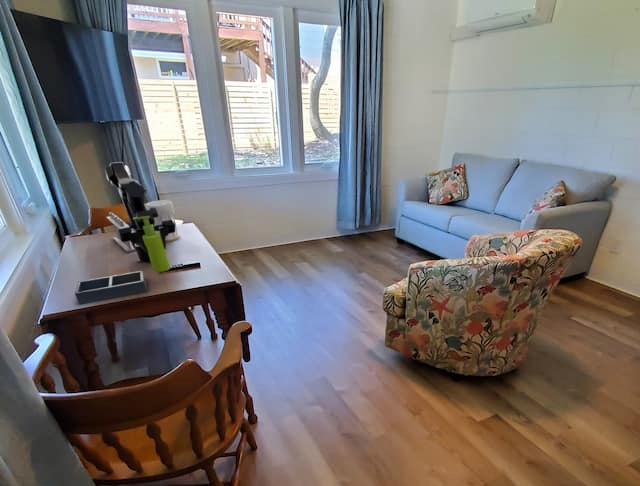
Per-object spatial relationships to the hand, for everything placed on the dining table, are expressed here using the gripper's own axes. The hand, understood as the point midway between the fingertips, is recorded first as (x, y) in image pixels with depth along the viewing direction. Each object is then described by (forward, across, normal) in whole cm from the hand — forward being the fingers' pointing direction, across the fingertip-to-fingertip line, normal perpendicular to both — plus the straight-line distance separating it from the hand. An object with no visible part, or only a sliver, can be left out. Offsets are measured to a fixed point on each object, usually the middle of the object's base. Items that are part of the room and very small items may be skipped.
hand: (156, 250), depth 145 cm
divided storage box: (+6, -17, +12) cm, 22 cm away
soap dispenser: (+4, 0, +7) cm, 8 cm away
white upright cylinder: (-29, +15, +48) cm, 58 cm away
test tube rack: (-32, -4, +52) cm, 61 cm away
